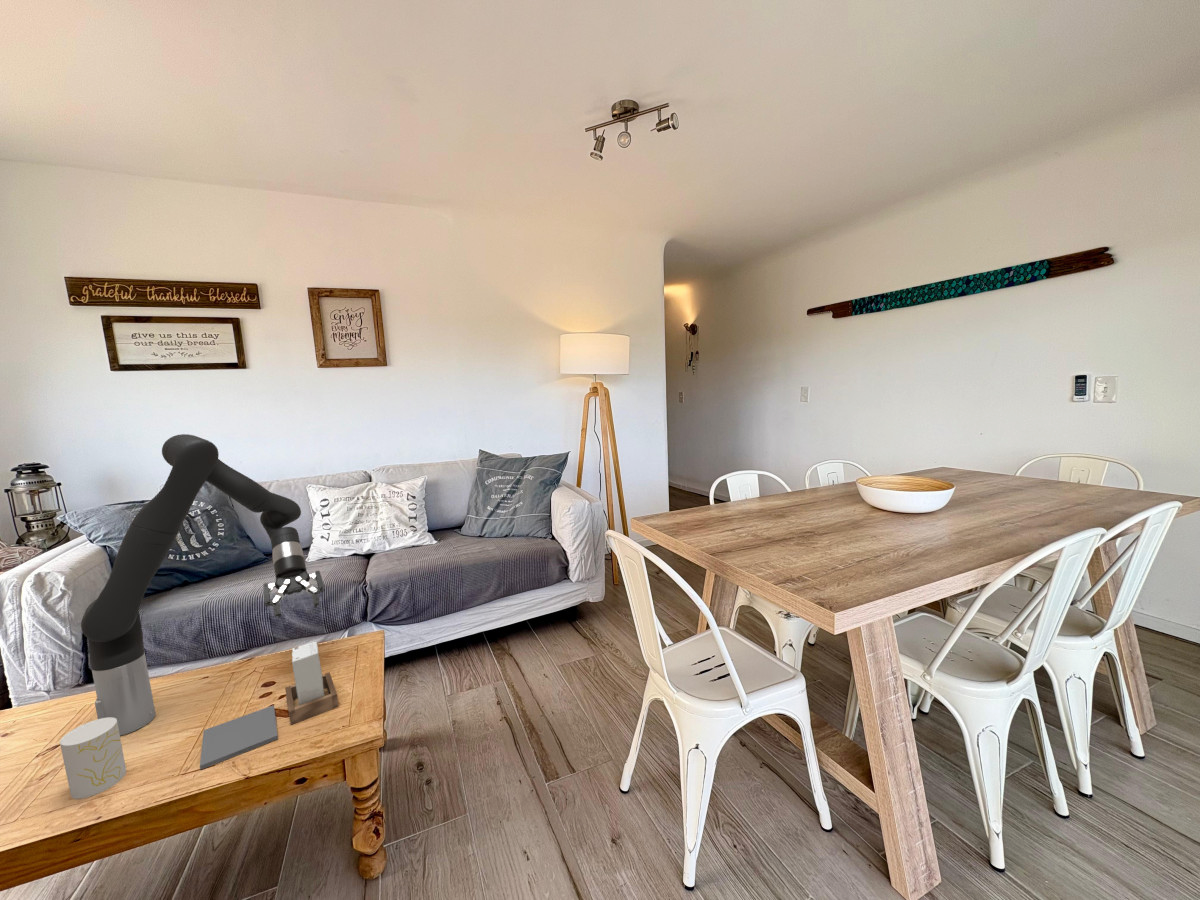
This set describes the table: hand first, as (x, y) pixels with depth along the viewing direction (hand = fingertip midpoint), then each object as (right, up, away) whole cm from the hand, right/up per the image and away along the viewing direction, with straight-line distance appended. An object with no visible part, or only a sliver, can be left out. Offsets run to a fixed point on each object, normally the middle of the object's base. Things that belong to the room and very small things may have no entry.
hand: (298, 611), depth 130 cm
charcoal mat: (-2, -23, -18) cm, 30 cm away
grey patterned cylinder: (-23, -26, -30) cm, 46 cm away
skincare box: (+8, -22, -7) cm, 24 cm away
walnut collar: (+8, -22, -7) cm, 24 cm away
